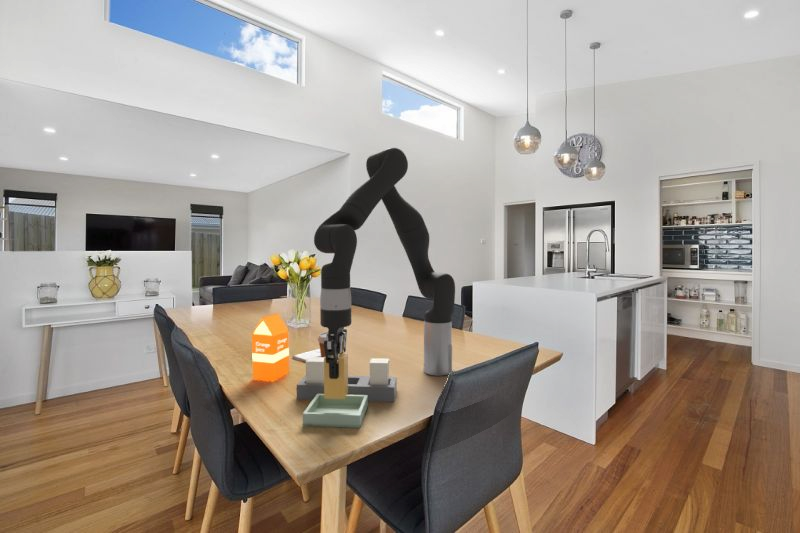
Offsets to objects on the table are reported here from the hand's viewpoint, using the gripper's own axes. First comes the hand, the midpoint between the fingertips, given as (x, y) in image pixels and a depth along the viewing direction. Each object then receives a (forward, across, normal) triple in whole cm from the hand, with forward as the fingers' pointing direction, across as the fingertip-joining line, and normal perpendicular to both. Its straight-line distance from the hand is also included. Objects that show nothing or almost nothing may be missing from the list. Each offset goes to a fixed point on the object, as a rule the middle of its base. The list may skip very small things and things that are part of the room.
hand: (336, 374), depth 91 cm
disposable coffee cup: (+11, +34, +10) cm, 37 cm away
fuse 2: (+10, +13, -9) cm, 19 cm away
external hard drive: (+11, +48, +21) cm, 53 cm away
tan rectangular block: (+5, 0, 0) cm, 5 cm away
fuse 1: (+10, +13, +9) cm, 19 cm away
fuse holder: (+10, +13, 0) cm, 17 cm away
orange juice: (+11, +26, +28) cm, 40 cm away
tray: (+10, 0, 0) cm, 10 cm away
